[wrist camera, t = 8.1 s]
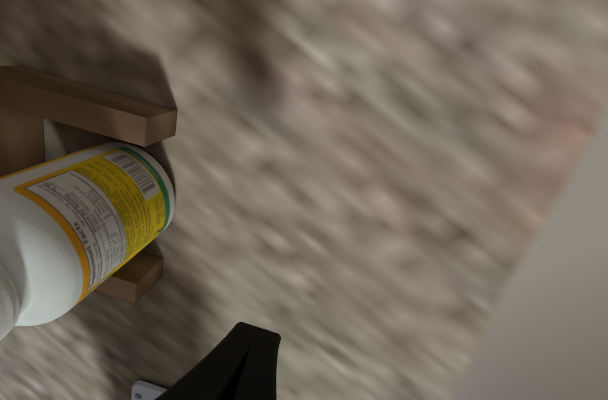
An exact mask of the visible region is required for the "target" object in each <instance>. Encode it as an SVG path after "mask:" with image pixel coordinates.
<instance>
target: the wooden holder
mask: <svg viewBox="0 0 608 400" xmlns="http://www.w3.org/2000/svg"><path fill="white" fill-rule="evenodd" d="M43 118H46V119H50V120H53V121H57V122H60V123H64V124H67V125H70V126H74V127H77V128H81V129H84V130H88V131H91V132H95V133H98V134H102V135H105V136H109V137H112V138H116V139H119V140H123V141H126V142H130V143H133V144H137V145H140V146H143V147H145V146H148V145H151V144H153V143H156V142H159V141H161V140H164V139H167V138H169V137H172V136H175V131H176V120H177V110H175V109H171V108H167V107H164V106H160V105H156V104H153V103H149V102H146V101H142V100H138V99H135V98H131V97H128V96H124V95H120V94H117V93H113V92H110V91H106V90H102V89H99V88H95V87H92V86H88V85H84V84H81V83H77V82H74V81H70V80H66V79H63V78H59V77H55V76H52V75H48V74H45V73H41V72H37V71H34V70H30V69H27V68H23V67H19V66H0V177H3V176H6V175H9V174H12V173H15V172H18V171H21V170H24V169H27V168H30V167H33V166H36V165H39V164H42V163H45V155H44V134H43ZM162 267H163V258H161V257H157V256H154V255H151V254H148V253H145V252H141V251H139V252H138V253H137V254H136V255H135V256H133V257H132V258H131V259H130V260H129V261H128V262H126V263H125V264H124V265H123V266H122V267H120V268H119V269H118V270H117V271H116V272H114V273H113V274H112V275H111V276H109V277H108V278H107V279H106V280H105V281H104V282H102V283H101V284H100V285H99V286H98V287H96V288H95V289H94V290H95V291H98V292H101V293H104V294H107V295H110V296H113V297H116V298H119V299H122V300H125V301H129V302H132V303H136V302H137V301H138V300H139V299H140V298H141V297H142V296H143V295H144V294H145V293H146V292H147V291H148V290H149V289H150V288H151V287H152V285H153V284H154V283H155V282H156V281H157V280H158V279H159V278H160V277H161V276H162Z"/></svg>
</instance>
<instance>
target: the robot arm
mask: <svg viewBox="0 0 608 400" xmlns="http://www.w3.org/2000/svg"><path fill="white" fill-rule="evenodd" d="M280 340H281V337H280V335H279V334H278V333H275V332H272V331H269V330H265V329H262V328H259V327H256V326H253V325H250V324H247V323H244V322H239V323H237V324H236V325H235V326H234V328H233V329H232V330H231V331H230V332H229V333H228V335H227V336H226V337H225V338H224V339H223V340H222V341H221V342H220V343H219V344H218V345H217V346H216V347H215V348H214V349H213V350H212V351H211V352H210V353H209V354H208V355H207V356H206V357H205V358H203V359H202V360H201V361H200V362H199V363H198V364H197V365H196V366H195V367H194V368H193V369H192V370H190V371H189V372H188V373H187V374H186V375H184V376H183V377H182V378H181V379H180V380H178V381H177V382H176V383H175V384H174V385H172V386H171V387H170V388H169V389H165V388H162V387H159V386H156V385H153V384H150V383H147V382H144V381H136V382H135V384H134V385H133V386H132V395H131V400H276V369H277V356H278V349H279V344H280Z"/></svg>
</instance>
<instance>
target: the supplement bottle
mask: <svg viewBox="0 0 608 400" xmlns="http://www.w3.org/2000/svg"><path fill="white" fill-rule="evenodd" d="M174 208H175V197H174V191H173V186H172V184H171V182H170V180H169V178H168V176H167V174H166V172H165V171H164V169H163V168H162V167H161V165H160V164H159V163H158V162H157V161H156V160H155V159H154V158H153V157H152V156H150V155H149V154H148V153H146V152H145V151H143V150H141V149H140V148H138V147H135V146H133V145H130V144H126V143H122V142H107V143H102V144H98V145H95V146H92V147H89V148H86V149H84V150H80V151H77V152H74V153H71V154H68V155H65V156H62V157H59V158H57V159H54V160H51V161H48V162H45V163H42V164H39V165H36V166H33V167H30V168H27V169H24V170H21V171H18V172H15V173H12V174H9V175H6V176H3V177H0V340H1V339H3V338H4V337H5V336H6V335H7V334H8V333H9V332H10V330H11V329H12V328H13V327H14V326H15V325H16V326H33V325H40V324H44V323H47V322H50V321H52V320H55V319H57V318H58V317H60V316H62V315H64V314H65V313H66V312H68V311H69V310H70V309H72V308H73V307H74V306H75V305H77V304H78V303H79V302H80V301H82V300H83V299H84V298H85V297H86V296H87V295H88V294H90V293H91V292H92V291H93V290H94V289H95V288H96V287H98V286H99V285H100V284H101V283H102V282H104V281H105V280H106V279H107V278H108V277H109V276H111V275H112V274H113V273H114V272H116V271H117V270H118V269H119V268H120V267H122V266H123V265H124V264H125V263H126V262H128V261H129V260H130V259H131V258H132V257H133V256H135V255H136V254H137V253H138V252H139V251H140V250H142V249H143V248H144V247H145V246H147V245H148V244H149V243H150V242H151V241H152V240H153V239H154V238H156V237H157V236H158V235H159V234H160V233H161V232H162V231H164V230H165V229H166V228H167V226H168V225H169V224H170V222H171V220H172V218H173V214H174Z"/></svg>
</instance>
